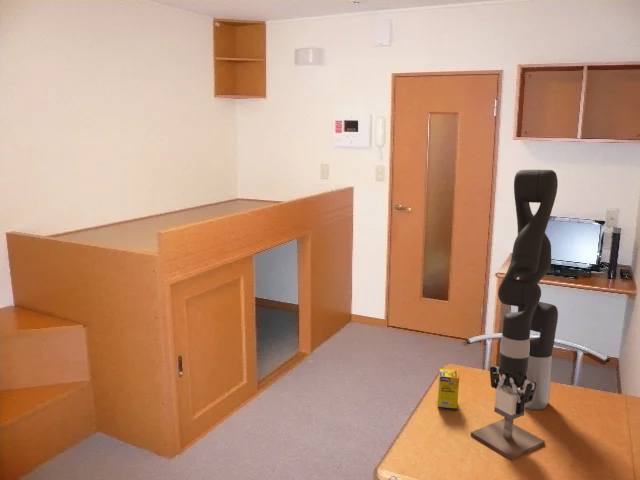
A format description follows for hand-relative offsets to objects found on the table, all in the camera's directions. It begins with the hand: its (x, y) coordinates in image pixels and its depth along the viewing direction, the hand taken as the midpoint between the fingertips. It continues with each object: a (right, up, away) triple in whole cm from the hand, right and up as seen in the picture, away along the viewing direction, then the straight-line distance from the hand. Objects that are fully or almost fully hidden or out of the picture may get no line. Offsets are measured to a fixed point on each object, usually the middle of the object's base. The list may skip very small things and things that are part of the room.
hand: (509, 408), depth 154 cm
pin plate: (0, -9, +2) cm, 9 cm away
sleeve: (0, -1, 0) cm, 1 cm away
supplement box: (-12, -5, +21) cm, 25 cm away
